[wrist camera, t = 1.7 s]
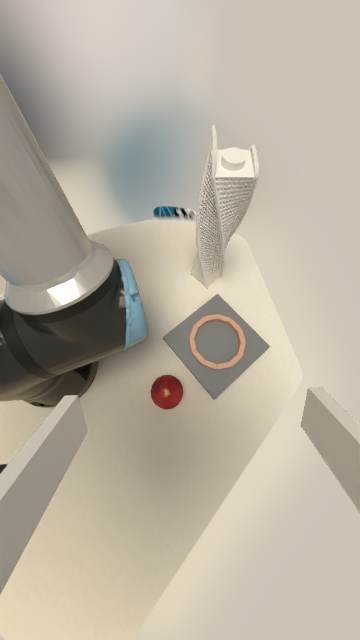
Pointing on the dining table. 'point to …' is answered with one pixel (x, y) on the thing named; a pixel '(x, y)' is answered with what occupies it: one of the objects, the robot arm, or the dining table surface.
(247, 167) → the skyscraper
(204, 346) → the dock
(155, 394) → the red rounded fruit
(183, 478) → the dining table surface
